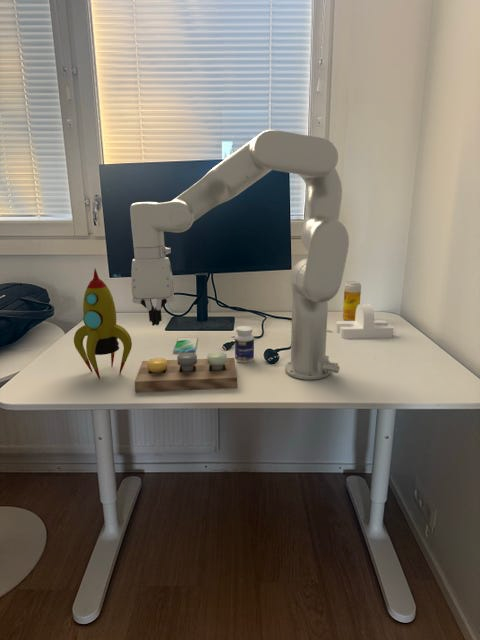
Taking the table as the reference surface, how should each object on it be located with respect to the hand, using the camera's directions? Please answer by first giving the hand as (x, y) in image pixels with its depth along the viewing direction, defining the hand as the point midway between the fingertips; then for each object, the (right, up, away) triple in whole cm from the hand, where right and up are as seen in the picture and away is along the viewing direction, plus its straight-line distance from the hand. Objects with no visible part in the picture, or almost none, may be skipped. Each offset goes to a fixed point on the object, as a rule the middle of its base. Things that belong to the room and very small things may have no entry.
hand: (156, 323), depth 114 cm
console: (+8, -15, +5) cm, 18 cm away
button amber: (0, -15, +4) cm, 15 cm away
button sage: (+16, -13, +5) cm, 21 cm away
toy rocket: (-16, -14, +10) cm, 24 cm away
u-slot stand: (+66, -4, +41) cm, 77 cm away
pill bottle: (+23, -11, +18) cm, 32 cm away
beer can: (+65, +1, +57) cm, 86 cm away
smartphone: (+4, -8, +31) cm, 32 cm away
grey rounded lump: (+8, -13, +4) cm, 16 cm away
